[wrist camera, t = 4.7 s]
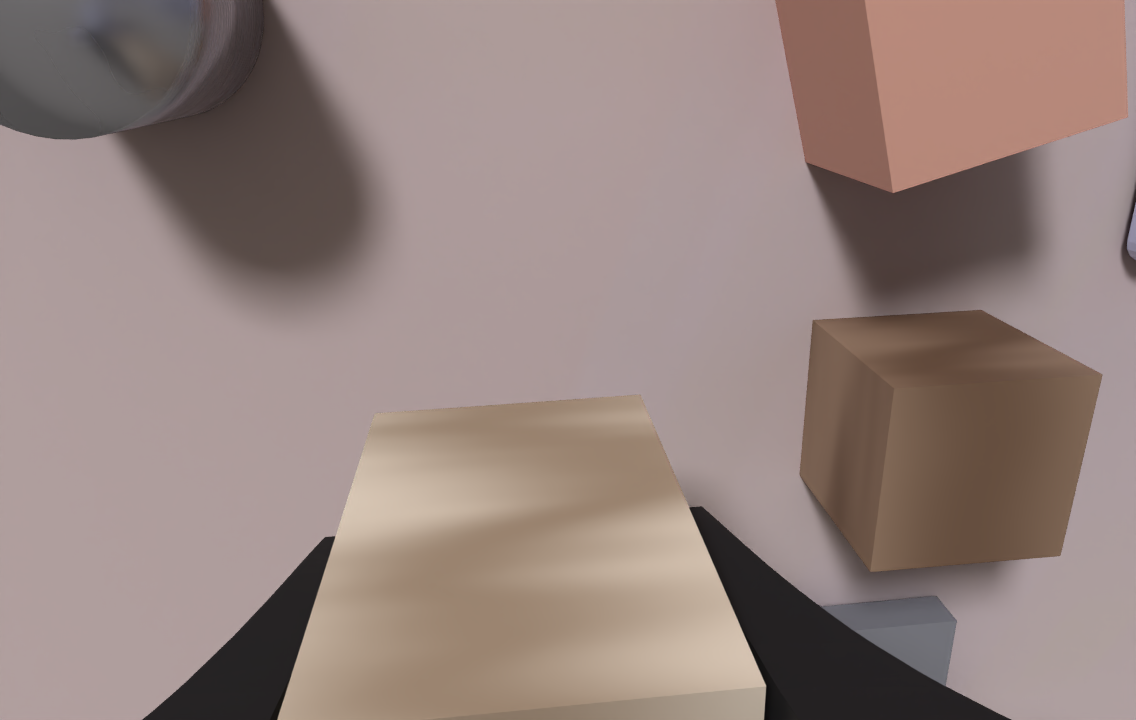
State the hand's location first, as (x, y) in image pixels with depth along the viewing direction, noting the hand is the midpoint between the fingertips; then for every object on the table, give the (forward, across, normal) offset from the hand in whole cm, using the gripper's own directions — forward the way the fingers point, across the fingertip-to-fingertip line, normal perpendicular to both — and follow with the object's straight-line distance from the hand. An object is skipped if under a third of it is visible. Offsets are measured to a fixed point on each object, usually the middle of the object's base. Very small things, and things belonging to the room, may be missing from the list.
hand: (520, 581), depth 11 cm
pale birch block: (+2, 0, 0) cm, 2 cm away
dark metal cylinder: (+7, +6, -8) cm, 12 cm away
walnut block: (+7, -9, +1) cm, 12 cm away
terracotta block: (+7, -8, -7) cm, 13 cm away
